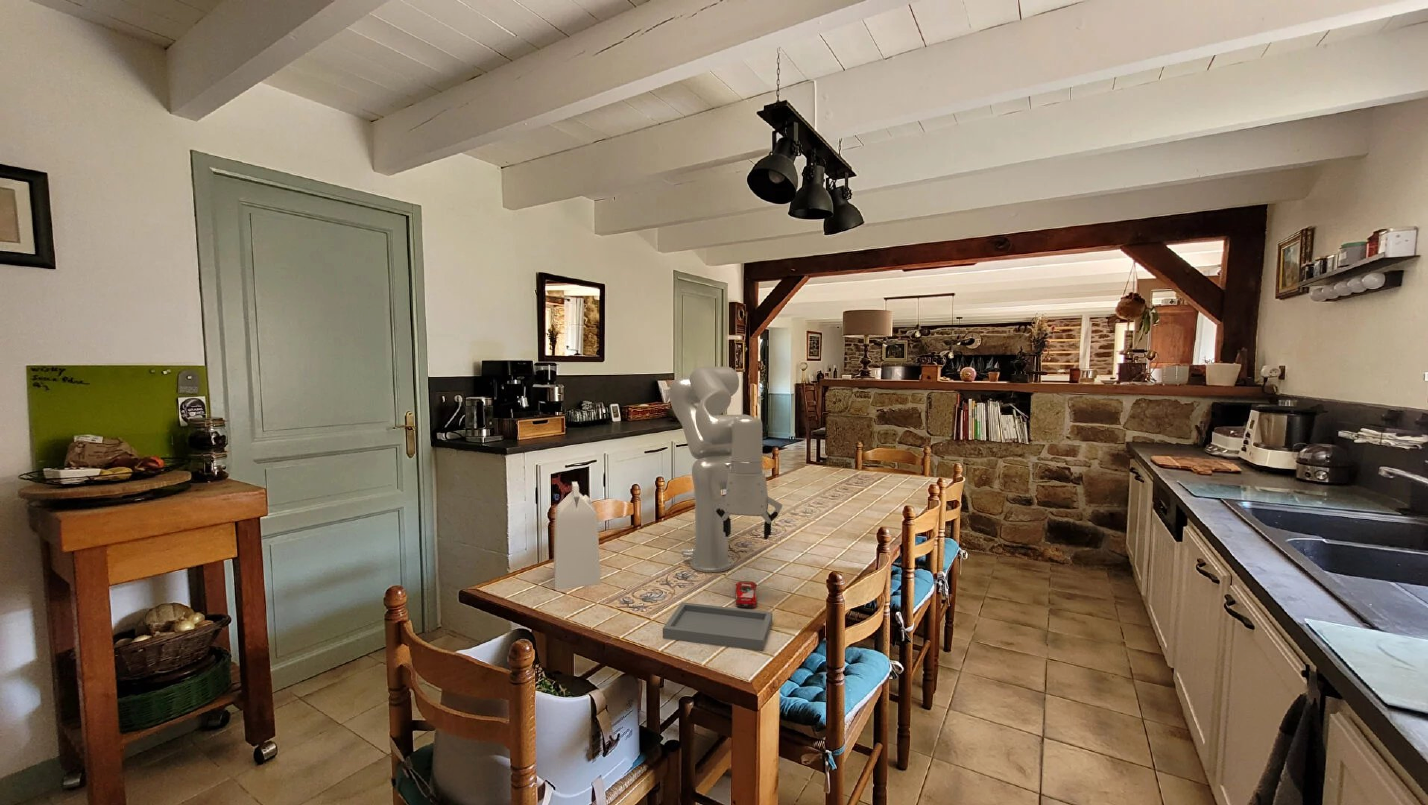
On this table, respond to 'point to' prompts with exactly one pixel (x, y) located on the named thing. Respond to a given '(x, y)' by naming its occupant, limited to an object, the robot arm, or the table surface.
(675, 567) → the table surface
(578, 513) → the milk
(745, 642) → the tray
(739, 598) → the race car
